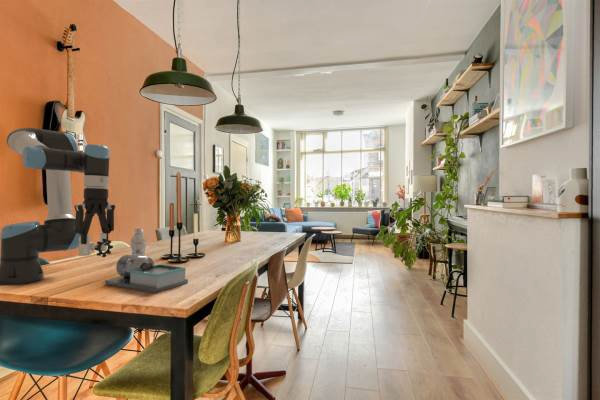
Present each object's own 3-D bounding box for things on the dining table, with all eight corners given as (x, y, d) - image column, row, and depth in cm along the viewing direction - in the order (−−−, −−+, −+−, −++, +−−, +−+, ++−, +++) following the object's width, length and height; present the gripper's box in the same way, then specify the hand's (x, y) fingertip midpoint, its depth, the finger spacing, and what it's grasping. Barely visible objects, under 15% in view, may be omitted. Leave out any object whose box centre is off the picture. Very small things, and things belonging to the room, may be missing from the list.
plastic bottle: (145, 274, 144) (146, 229, 144) (128, 275, 142) (129, 229, 142) (146, 271, 150) (147, 228, 150) (130, 271, 148) (131, 228, 148)
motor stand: (105, 284, 126) (106, 257, 126) (142, 275, 141) (143, 251, 141) (153, 293, 115) (154, 264, 115) (187, 282, 131) (188, 257, 131)
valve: (71, 255, 115) (96, 258, 111) (72, 237, 115) (96, 239, 111) (88, 253, 121) (113, 255, 117) (89, 235, 121) (113, 237, 117)
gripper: (76, 186, 106) (74, 256, 106) (126, 189, 123) (124, 249, 123) (62, 186, 109) (60, 254, 109) (113, 188, 126) (111, 247, 126)
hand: (94, 251), depth 116 cm, fingers closed on valve, 5 cm apart
